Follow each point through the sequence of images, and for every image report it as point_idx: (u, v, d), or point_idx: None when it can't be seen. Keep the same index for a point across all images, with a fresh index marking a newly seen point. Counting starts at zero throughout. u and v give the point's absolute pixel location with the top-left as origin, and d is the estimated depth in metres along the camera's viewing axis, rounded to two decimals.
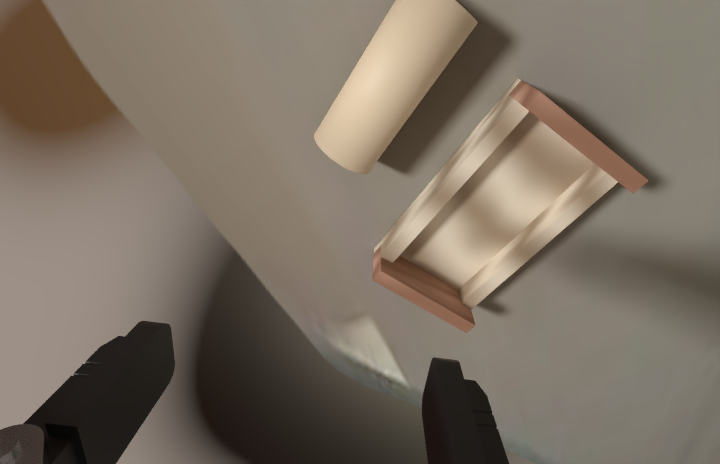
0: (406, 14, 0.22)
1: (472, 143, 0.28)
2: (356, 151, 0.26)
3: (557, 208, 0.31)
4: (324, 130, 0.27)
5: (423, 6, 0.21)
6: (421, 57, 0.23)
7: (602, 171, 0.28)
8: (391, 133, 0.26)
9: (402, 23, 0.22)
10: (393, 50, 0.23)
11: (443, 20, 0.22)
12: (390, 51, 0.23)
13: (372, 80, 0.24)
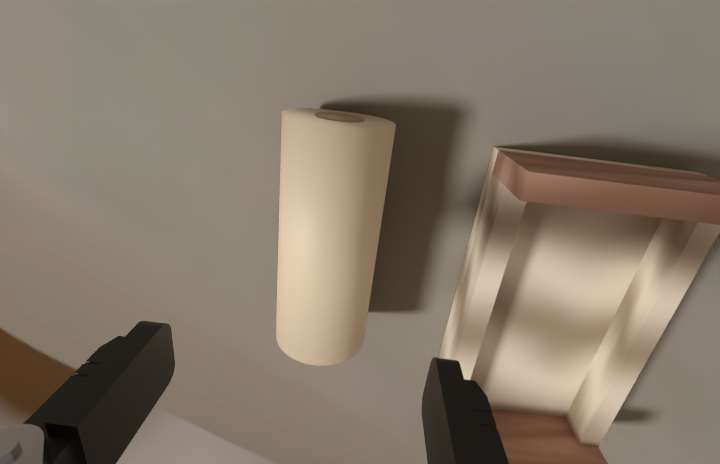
0: (294, 170, 0.16)
1: (476, 252, 0.20)
2: (326, 343, 0.19)
3: (650, 278, 0.20)
4: (279, 329, 0.20)
5: (307, 153, 0.15)
6: (340, 209, 0.16)
7: None
8: (360, 300, 0.19)
9: (295, 182, 0.16)
10: (302, 217, 0.16)
11: (341, 156, 0.15)
12: (299, 219, 0.16)
13: (298, 259, 0.17)
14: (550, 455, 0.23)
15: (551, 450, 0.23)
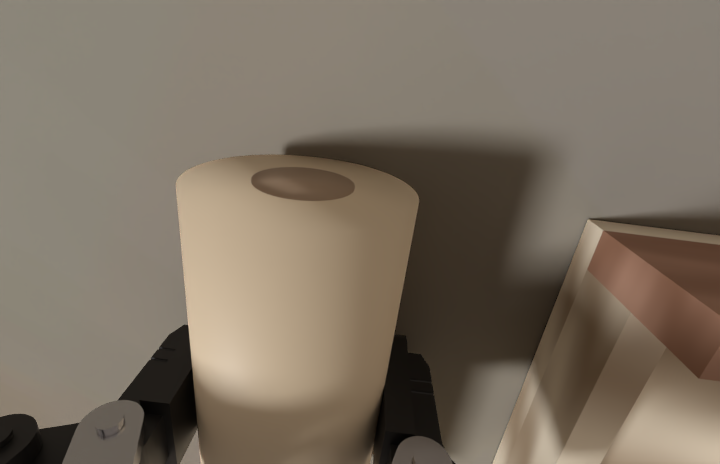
0: (200, 307, 0.07)
1: (553, 400, 0.11)
2: None
3: None
4: None
5: (222, 280, 0.07)
6: (302, 388, 0.07)
7: None
8: None
9: (204, 330, 0.07)
10: (223, 396, 0.08)
11: (299, 291, 0.06)
12: (219, 398, 0.08)
13: (224, 462, 0.09)
14: None
15: None
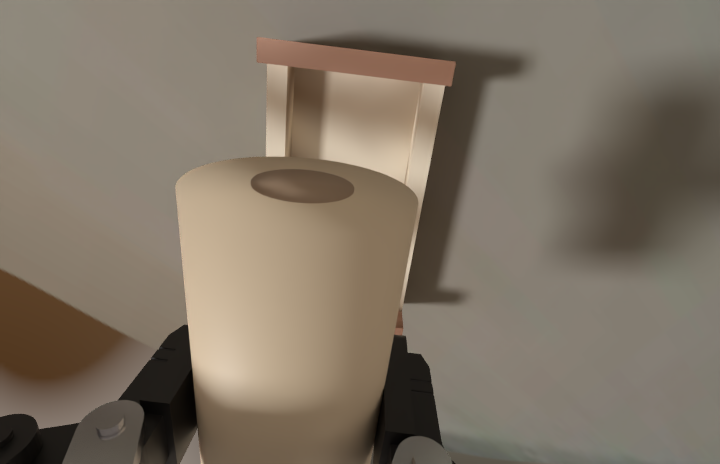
0: (200, 309, 0.07)
1: None
2: None
3: (411, 151, 0.24)
4: None
5: (221, 283, 0.07)
6: (302, 390, 0.07)
7: (423, 83, 0.22)
8: None
9: (204, 332, 0.07)
10: (223, 398, 0.08)
11: (298, 294, 0.06)
12: (219, 400, 0.08)
13: None
14: None
15: None
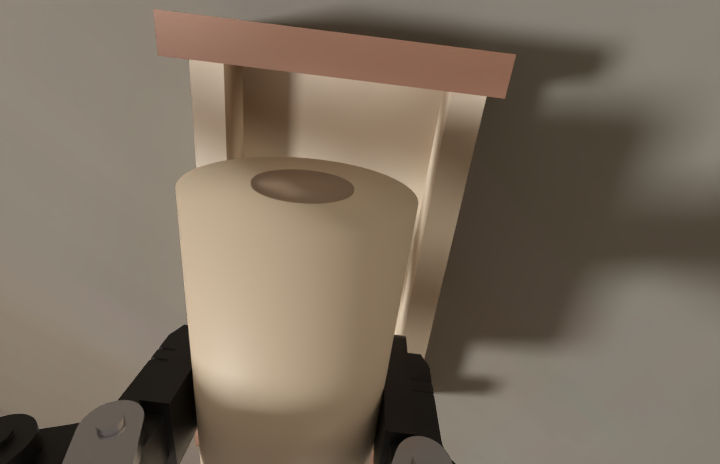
0: (200, 309, 0.07)
1: None
2: None
3: (427, 195, 0.16)
4: None
5: (221, 283, 0.07)
6: (302, 391, 0.07)
7: (449, 91, 0.14)
8: None
9: (204, 333, 0.07)
10: (223, 398, 0.08)
11: (298, 294, 0.06)
12: (219, 401, 0.08)
13: None
14: None
15: None
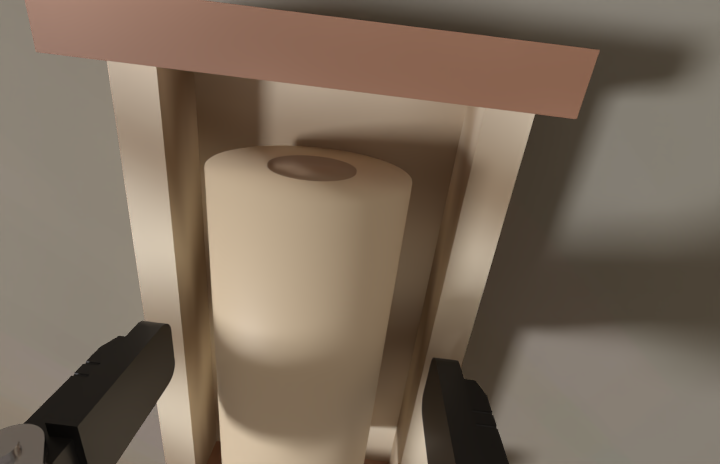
0: (226, 272, 0.08)
1: None
2: None
3: (445, 242, 0.12)
4: None
5: (246, 246, 0.08)
6: (313, 341, 0.09)
7: None
8: (352, 458, 0.11)
9: (229, 292, 0.09)
10: (245, 351, 0.09)
11: (311, 255, 0.08)
12: (241, 353, 0.09)
13: (243, 413, 0.10)
14: None
15: None
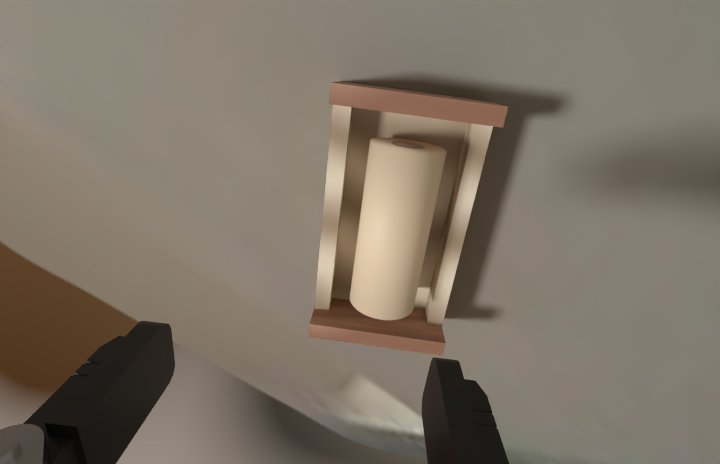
0: (380, 180, 0.23)
1: None
2: (392, 302, 0.26)
3: (457, 180, 0.27)
4: (356, 294, 0.27)
5: (391, 169, 0.23)
6: (410, 206, 0.24)
7: None
8: (416, 272, 0.26)
9: (380, 188, 0.24)
10: (383, 212, 0.24)
11: (414, 171, 0.23)
12: (381, 213, 0.24)
13: (377, 241, 0.25)
14: (399, 328, 0.29)
15: (402, 326, 0.30)
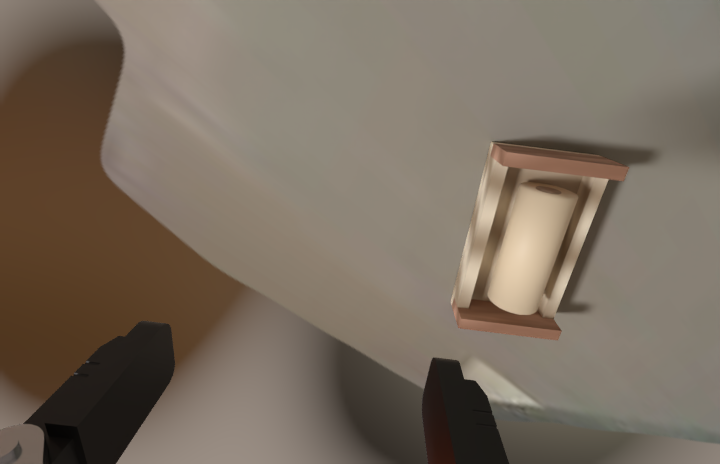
0: (533, 217, 0.33)
1: (482, 198, 0.37)
2: (530, 302, 0.36)
3: (576, 212, 0.36)
4: (499, 296, 0.37)
5: (543, 210, 0.33)
6: (554, 235, 0.33)
7: None
8: (547, 280, 0.36)
9: (532, 222, 0.33)
10: (533, 238, 0.34)
11: (560, 211, 0.32)
12: (531, 240, 0.34)
13: (525, 259, 0.35)
14: (524, 320, 0.39)
15: (525, 318, 0.40)
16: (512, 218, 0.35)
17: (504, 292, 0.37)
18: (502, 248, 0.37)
